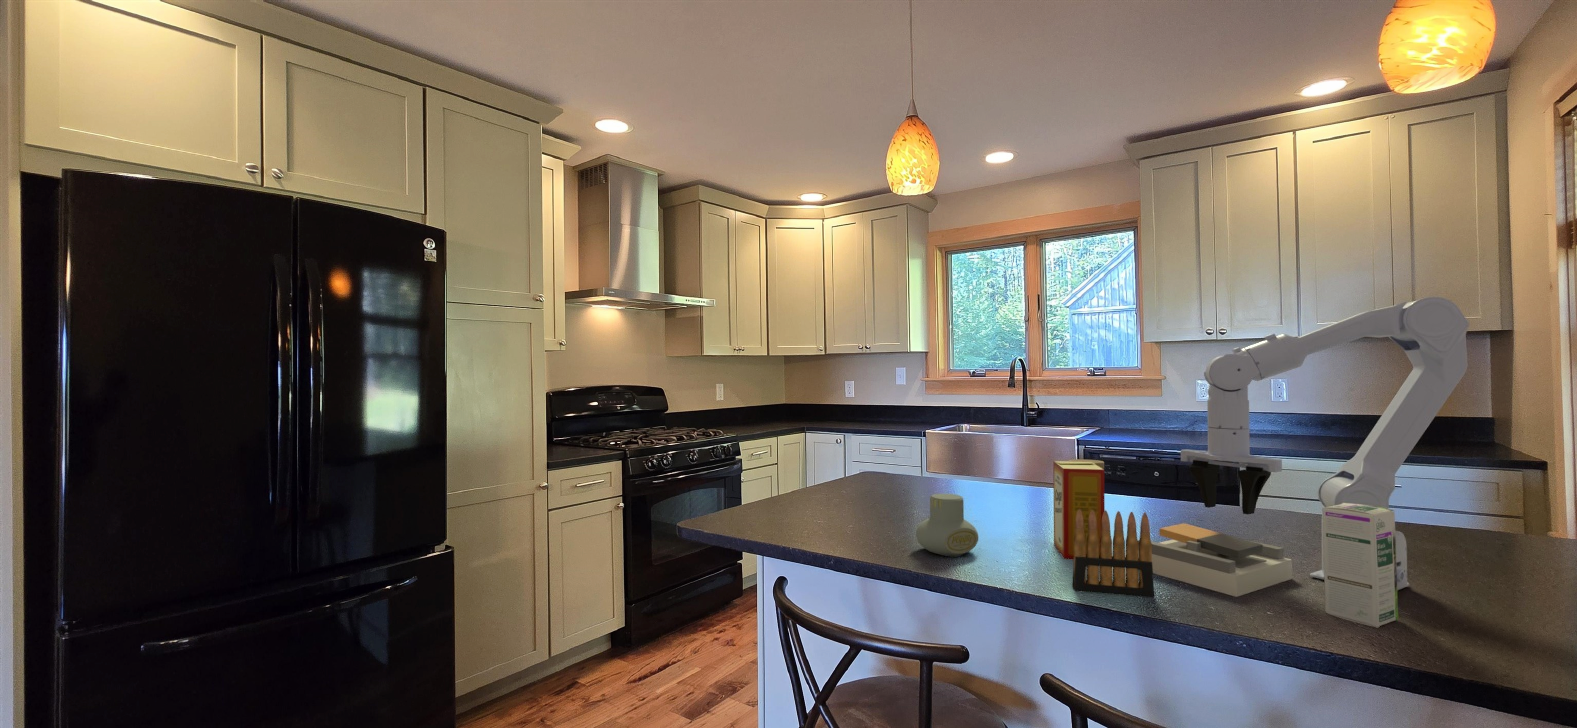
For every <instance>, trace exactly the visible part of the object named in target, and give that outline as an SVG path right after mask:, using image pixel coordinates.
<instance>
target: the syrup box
mask: <svg viewBox="0 0 1577 728" xmlns="http://www.w3.org/2000/svg"><path fill="white" fill-rule="evenodd" d="M1321 511H1322V515H1321V518H1322V517H1323V555H1324V609H1325V613H1326V614H1328V615H1330V616H1333V617H1336V618H1338V619H1339V618H1340V619H1343V620H1347V621H1349V622H1353V623H1357V624H1360V625H1364V626H1368V627H1372V628H1376V629H1379V628H1380V626H1383V625H1386V624H1390V623H1391V622H1395V621H1397V620H1399V602H1398V601H1399V599H1398V590H1397V567H1396V539H1395V531H1396V520H1395V519H1396V516H1395V511H1394V510H1393V509H1390V508H1389V509H1387V508H1382V507H1377V506H1371V505H1363V504H1350V503H1342V504H1340V505H1335V506H1330V507H1324V506H1323V507H1322V508H1321Z"/></svg>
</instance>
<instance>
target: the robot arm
mask: <svg viewBox="0 0 1577 728" xmlns="http://www.w3.org/2000/svg"><path fill="white" fill-rule="evenodd" d="M1469 327H1470V322H1469V320H1468V319H1467V317H1465V315H1464V313H1463V312H1462V310H1461V309H1460V308H1459V306H1458V305H1456V303H1455V302H1453V301H1452V300H1449V299H1447V298H1444V297H1439V296H1428V297H1423V298H1419V299H1417V300H1415V301H1406V302H1405V301H1404V302H1399V303H1396V304H1395V305H1391V306H1386V307H1381V308H1377V309H1373V310H1367V311H1363V312H1359V313H1357V314H1355V315H1352V316H1350V317H1347V318H1344V319H1341V320H1339V321H1337V322H1334V323H1332V324H1329V325H1326V326H1323V327H1321V328H1318V329H1316V330H1313V331H1311V332H1309V333H1306V334H1302V335H1300V336H1298V337H1296V336H1292V335H1289V334H1285V333H1282V334H1278V335H1276V334H1275V333H1270V334H1268V335H1264V337H1263V338H1264V340H1262V341H1260V342H1257V343H1253V344H1252V345H1249V346H1245V347H1244V348H1241V347H1239V346H1238V347H1235V348H1232V350H1231V351H1232V353H1226V354H1224V355H1219V356H1217V357H1215V358H1213V359H1211V360H1210V362H1208V363H1207V366H1206V367H1205V371H1204V372H1203V376H1204V379H1205V380H1206V382H1207V384H1208V389H1207V395H1208V399H1207V403H1206V404H1207V450H1201V449H1200V450H1198V449H1189V448H1188V449H1180V461H1181V462H1192V463H1191V464H1190V465H1188V469H1189V472H1190V473H1191V475H1192V476H1193V478H1194V480H1195V481H1196V484H1197V486H1198V488H1199V491H1200V494H1201V497H1202V501H1203V505H1204V507H1205V508H1209V509H1210V508H1214V507H1217V506H1216V505H1217V482H1218V475H1219V471H1220V466H1225V467H1235V468H1243V469H1241V470H1237V475H1238V478H1239V481H1240V487H1241V488H1240V489H1241V498H1242V499H1241V508H1242V509H1241V510H1242V514H1243V515H1252V514H1255V510H1256V506H1257V502H1258V499H1259V496H1260V494H1261V492H1262V490H1263V488H1264V486H1265V484H1266V483H1267V482H1268V480H1269V479H1270V478H1271V475H1272V473H1280V472H1283V460H1282V459H1281V458H1273V457H1268V456H1261V455H1255V454H1250V453H1251V452H1250V450H1251V449H1250V446H1251V445H1250V444H1251V443H1250V400H1249V397H1248V396H1249V393H1248V392H1249V391H1248V390H1249V388H1248V386H1249V385H1250V384H1251V383H1252V382H1253V381H1254V382H1259V381H1262V380H1266V379H1269V378H1271V377H1275V376H1276V375H1280V374H1283V373H1286V372H1289V371H1292V370H1295V369H1298V368H1300V367H1302V366H1303V364H1304V362H1305V360H1306V358H1307V356H1309V355H1311V354H1315V353H1319V352H1320V351H1321V352H1322V351H1324V350H1327V349H1330V348H1333V347H1337V346H1341V345H1343V344H1347V343H1349V342H1352V341H1355V340H1358V339H1359V340H1360V339H1362V338H1364V337H1367V338H1378V339H1379V338H1389V339H1390V340H1391V341H1393V343H1395V344H1396V345H1397V346H1398V347H1400V348H1401V349H1402V350H1403V351H1404V353H1405V355H1406V357H1407V358H1408V360H1409V362H1410V363H1411V365H1412V370H1411V371H1410V373H1409V375H1408V376H1407V378H1406V379H1405V381H1404V382H1403V383H1402V385H1401V386H1400V388H1399V389H1398V391H1397V392H1396V394H1395V396H1394V397H1393V398H1392V400H1391V401H1390V403H1389V405H1388V406H1387V407H1386V408H1385V410H1384V412H1383V413H1382V414H1381V416H1380V418H1379V419H1378V420H1377V422H1376V424H1375V425H1374V427H1373V428H1372V430H1371V431H1370V432H1369V434H1368V435H1367V437H1366V438H1365V440H1364V441H1363V442H1362V444H1361V446H1360V447H1359V449H1358V450H1357V451H1356V452H1355V453H1356V454H1355V455H1354V456H1353V457H1352V458H1350V459H1349V460H1347V461H1346V462H1344V463H1343V464H1342V465H1341V466H1340V468H1339V469H1338V470H1337V471H1336V472H1335V473H1334V474H1332V475H1331V476H1328V477H1327V478H1325V479H1323V481H1322V482H1321V483H1320V484H1319V486H1318V489H1317V497H1318V500H1319V501H1320V503H1321V505H1322V506H1323V508H1324V507H1330V506H1335V505H1340V504H1342V503H1350V504H1363V505H1371V506H1377V507H1382V508H1387V509H1390V505H1389V504H1390V503H1389V502H1390V497H1391V496H1392V493H1393V492H1394V490H1396V488H1395V487H1396V474H1397V472H1398V471H1399V469H1400V467H1402V465H1403V463H1404V462H1405V460H1406V459H1407V458H1408V456H1409V455H1410V453H1411V452H1412V450H1413V449H1414V447H1415V446H1416V444H1417V443H1418V442H1419V440H1420V439H1421V438H1422V436H1423V435H1424V433H1425V431H1426V430H1427V428H1429V426H1430V424H1431V423H1432V422H1433V420H1434V419H1435V417H1436V416H1437V415H1438V413H1439V411H1441V409H1442V407H1443V405H1444V404H1445V403H1446V401H1447V400H1448V398H1449V397H1450V395H1451V394H1452V392H1453V391H1454V390H1455V388H1456V387H1457V385H1458V384H1459V383H1460V381H1461V379H1462V378H1463V377H1464V375H1465V374H1466V373H1467V369H1468V350H1467V347H1468V346H1467V337H1466V336H1467V333H1468V330H1469ZM1395 539H1396V567H1397V591H1399V590H1402V589H1404V588H1406V587H1409V586H1410V583H1409V582H1408V548H1407V547H1408V546H1407V540H1406V537H1405V535H1404V533H1403V532H1401V531H1399V530H1395ZM1309 576H1310V577H1312V578H1316V579H1320V580H1324V555H1323V517H1322V516H1321V569H1320V570H1316V571H1314V572H1311V573H1310V574H1309Z"/></svg>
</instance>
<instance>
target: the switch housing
mask: <svg viewBox="0 0 1577 728" xmlns="http://www.w3.org/2000/svg"><path fill="white" fill-rule="evenodd" d="M1137 540H1138V558H1139V539H1137ZM1250 541H1251V542H1255V543H1259V544H1262V545H1263V549H1262V552H1261V553H1258V554H1254V555H1250V556H1247V557H1243V558H1239V559H1237V558H1233V557H1230V556H1227V555H1223V554H1220V553H1217V552H1213V551H1210V550H1206V549H1203V548H1201V543H1199V542H1194V541H1187V544H1186V543H1183V542H1180V541H1176V540H1173V539H1168V540H1165V541H1161V542H1156V541H1154V540H1153V541H1152V540H1151V544H1152V567H1153V575H1154V574H1155V575H1157V576H1162V577H1165V578H1169V579H1172V580H1175V581H1179V582H1183V583H1187V584H1190V585H1194V586H1196V587H1200V588H1203V589H1208V590H1211V591H1215V592H1218V593H1221V594H1225V595H1229V596H1232V597H1236V598H1237V597H1240V596H1243V595H1246V594H1247V595H1248V594H1250V593H1252V592H1253V593H1254V592H1256V591H1258V590H1262V589H1265V588H1268V587H1271V586H1275V585H1278V584H1281V583H1284V582H1287V581H1290V580H1292V579H1293V559H1290V558H1286V557H1285V552H1284V551H1285V548H1284V547H1280V546H1276V545H1271V544H1266V543H1262V542H1257V541H1254V540H1250Z"/></svg>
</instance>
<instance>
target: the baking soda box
mask: <svg viewBox="0 0 1577 728" xmlns="http://www.w3.org/2000/svg"><path fill="white" fill-rule="evenodd" d="M1052 463H1053V464H1052V465H1053V473H1052V474H1053V482H1052V483H1053V546H1054V547H1055V548H1056V549H1057V551H1058V553H1060V555H1061V557H1062V559H1063V560H1073V561H1074V535H1075V521H1076V515H1077V512H1078V510H1079V509H1080V510H1081V512H1082V515H1083V521H1084V534H1085V539H1086V554H1087V535H1088V521H1089V515H1090V512H1091V510H1093V511H1094V513H1095V516H1096V521H1097V535H1098V539H1099V555H1100V536H1101V523H1102V516H1103V513H1104V511H1105V510H1106V509H1105V507H1106V506H1105V468H1104V469H1102V468H1100V467H1099V466H1097V465H1095V464H1094V463H1093V462H1077V461H1068V460H1064V461H1063V460H1053V461H1052Z"/></svg>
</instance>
